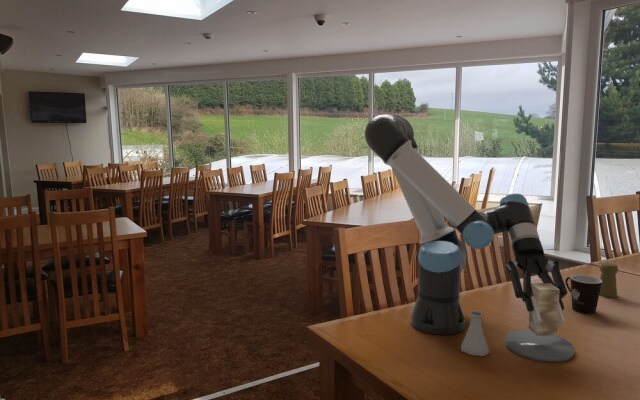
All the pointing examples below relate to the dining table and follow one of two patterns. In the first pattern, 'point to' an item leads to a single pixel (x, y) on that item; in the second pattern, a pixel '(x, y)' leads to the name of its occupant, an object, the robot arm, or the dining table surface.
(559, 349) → the plate
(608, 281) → the cork
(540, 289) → the birch block
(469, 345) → the flask
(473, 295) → the dining table surface
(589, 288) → the coffee mug
